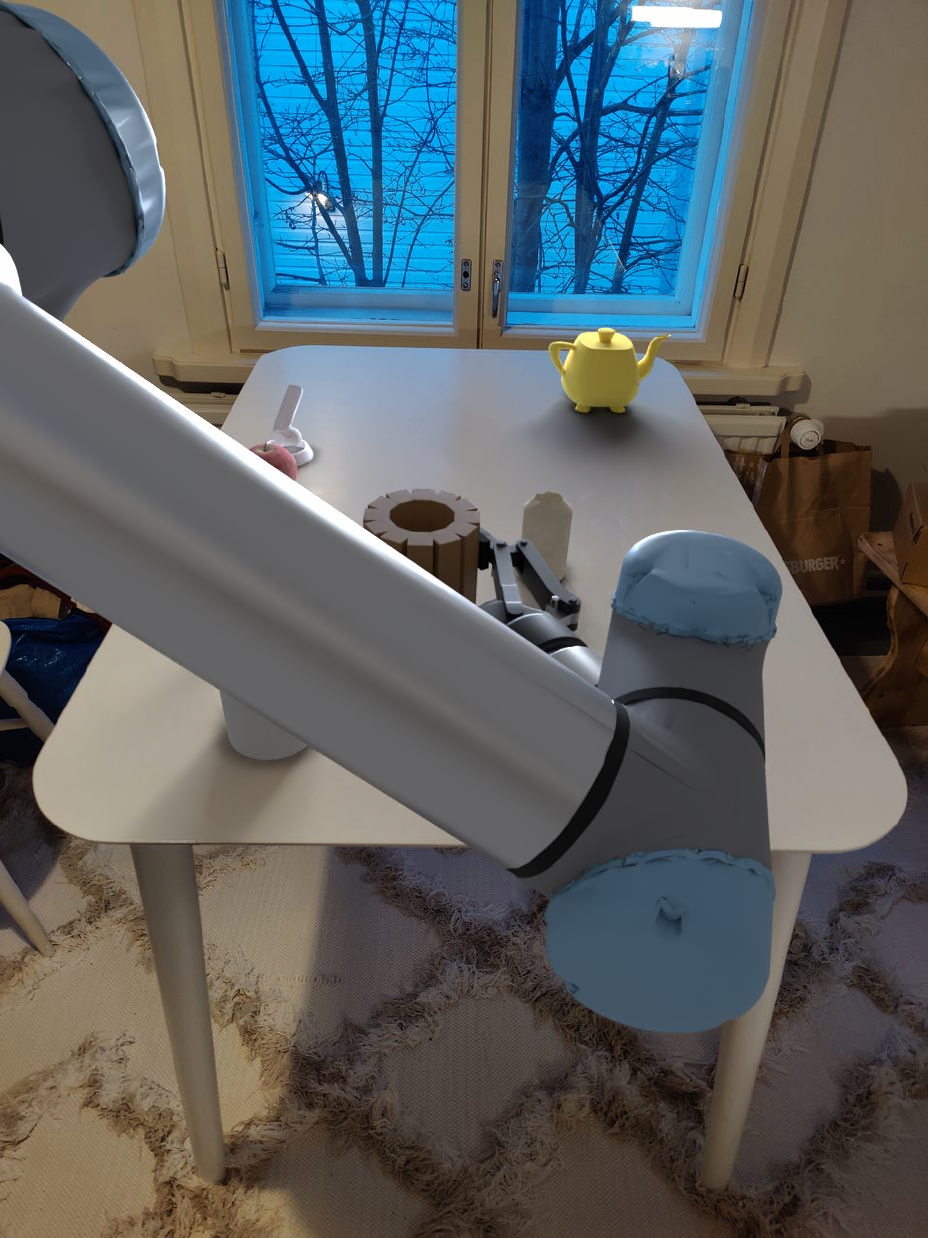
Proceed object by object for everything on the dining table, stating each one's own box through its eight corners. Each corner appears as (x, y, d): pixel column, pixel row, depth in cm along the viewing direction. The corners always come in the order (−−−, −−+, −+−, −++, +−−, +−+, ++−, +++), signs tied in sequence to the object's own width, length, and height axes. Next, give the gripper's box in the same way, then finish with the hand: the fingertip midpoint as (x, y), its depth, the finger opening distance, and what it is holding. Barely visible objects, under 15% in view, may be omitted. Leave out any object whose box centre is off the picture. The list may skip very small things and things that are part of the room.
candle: (551, 590, 94) (560, 513, 88) (510, 575, 96) (515, 500, 90) (572, 569, 98) (582, 494, 92) (531, 555, 100) (538, 481, 94)
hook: (337, 406, 122) (326, 395, 115) (310, 482, 123) (297, 475, 116) (291, 389, 123) (277, 377, 116) (265, 465, 124) (249, 457, 117)
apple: (260, 481, 113) (253, 427, 109) (308, 490, 112) (303, 435, 107) (232, 505, 108) (223, 449, 103) (282, 515, 106) (276, 458, 101)
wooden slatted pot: (363, 650, 66) (358, 544, 60) (372, 587, 73) (369, 486, 67) (475, 653, 66) (481, 547, 60) (473, 590, 73) (478, 489, 67)
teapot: (668, 418, 136) (682, 343, 129) (548, 417, 135) (556, 341, 127) (649, 389, 147) (661, 318, 139) (539, 387, 146) (545, 316, 138)
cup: (337, 718, 76) (328, 613, 69) (278, 773, 70) (262, 665, 63) (269, 686, 79) (254, 584, 72) (208, 737, 73) (185, 630, 66)
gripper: (403, 788, 51) (277, 604, 67) (665, 681, 60) (502, 541, 76) (402, 699, 47) (267, 523, 62) (685, 598, 56) (507, 467, 71)
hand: (396, 533), depth 69 cm, fingers closed on wooden slatted pot, 9 cm apart
